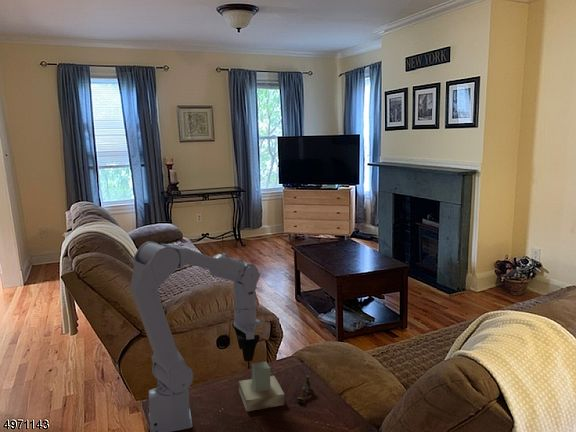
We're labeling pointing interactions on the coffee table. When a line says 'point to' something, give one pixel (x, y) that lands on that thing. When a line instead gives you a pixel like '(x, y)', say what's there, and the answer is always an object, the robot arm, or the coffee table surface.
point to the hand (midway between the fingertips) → (245, 354)
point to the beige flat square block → (261, 395)
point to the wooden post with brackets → (305, 389)
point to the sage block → (260, 376)
